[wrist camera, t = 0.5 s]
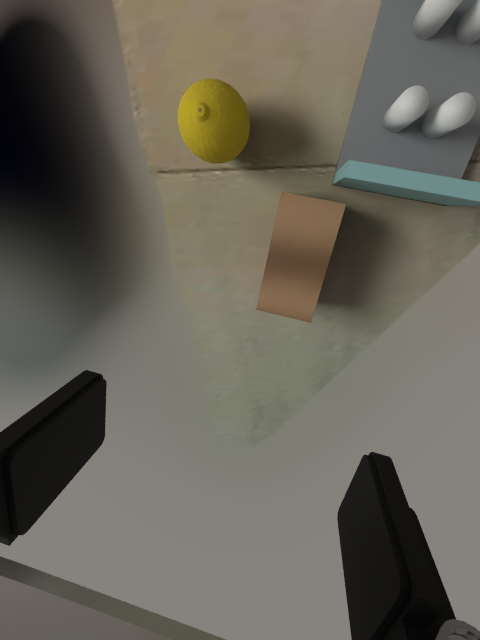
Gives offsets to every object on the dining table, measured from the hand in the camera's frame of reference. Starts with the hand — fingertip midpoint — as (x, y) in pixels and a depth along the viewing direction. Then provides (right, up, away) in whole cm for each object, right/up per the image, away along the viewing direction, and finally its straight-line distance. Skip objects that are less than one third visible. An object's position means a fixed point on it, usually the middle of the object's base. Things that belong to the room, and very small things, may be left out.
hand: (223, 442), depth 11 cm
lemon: (-1, +22, +17) cm, 28 cm away
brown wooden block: (+6, +11, +20) cm, 24 cm away
